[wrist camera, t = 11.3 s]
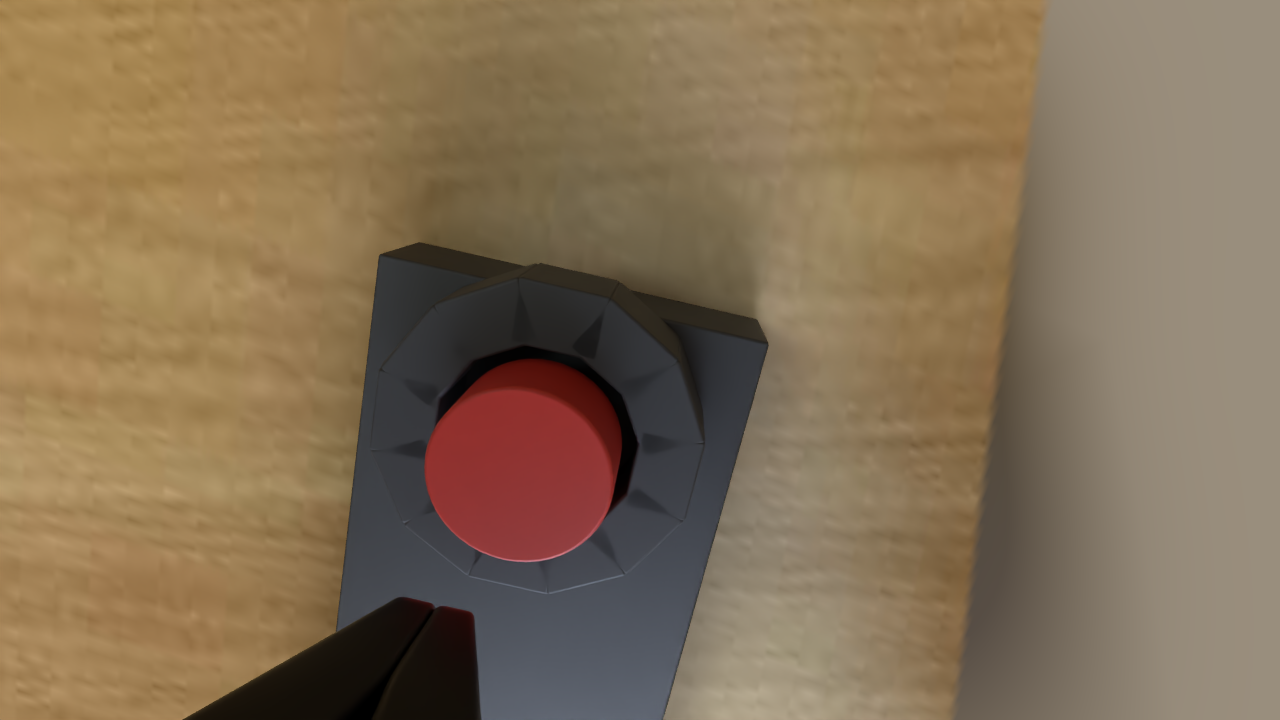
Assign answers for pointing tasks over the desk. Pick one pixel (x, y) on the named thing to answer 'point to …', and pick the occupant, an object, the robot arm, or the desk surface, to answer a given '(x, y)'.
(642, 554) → the dark grey button base
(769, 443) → the desk surface
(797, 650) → the desk surface
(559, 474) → the bell button
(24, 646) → the desk surface
